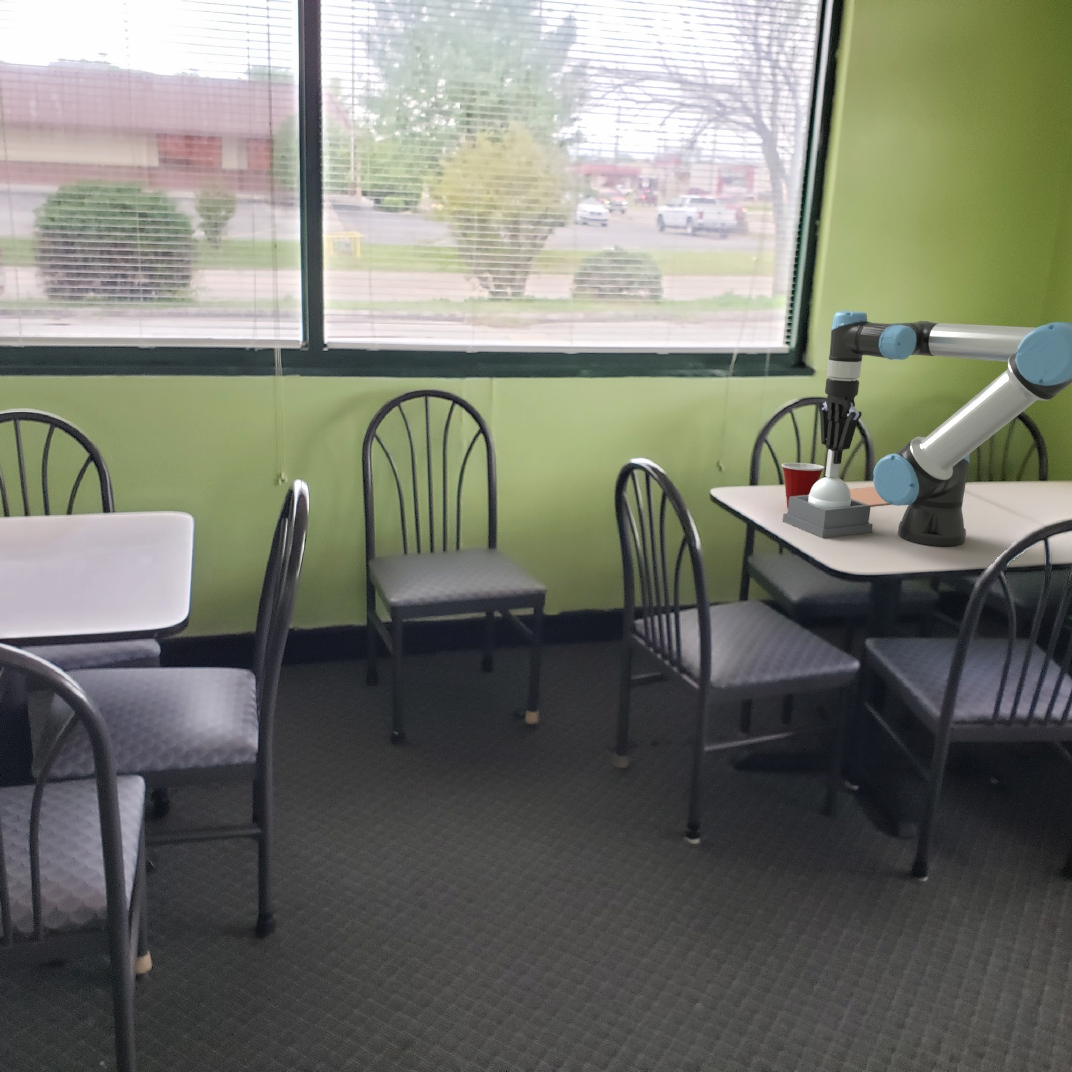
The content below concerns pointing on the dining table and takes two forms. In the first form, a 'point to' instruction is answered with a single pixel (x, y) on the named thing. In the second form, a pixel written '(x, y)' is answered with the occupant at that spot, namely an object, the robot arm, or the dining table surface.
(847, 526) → the dome housing
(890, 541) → the dining table surface
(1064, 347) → the robot arm
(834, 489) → the dome
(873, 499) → the mat
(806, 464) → the plastic cup
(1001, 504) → the dining table surface
